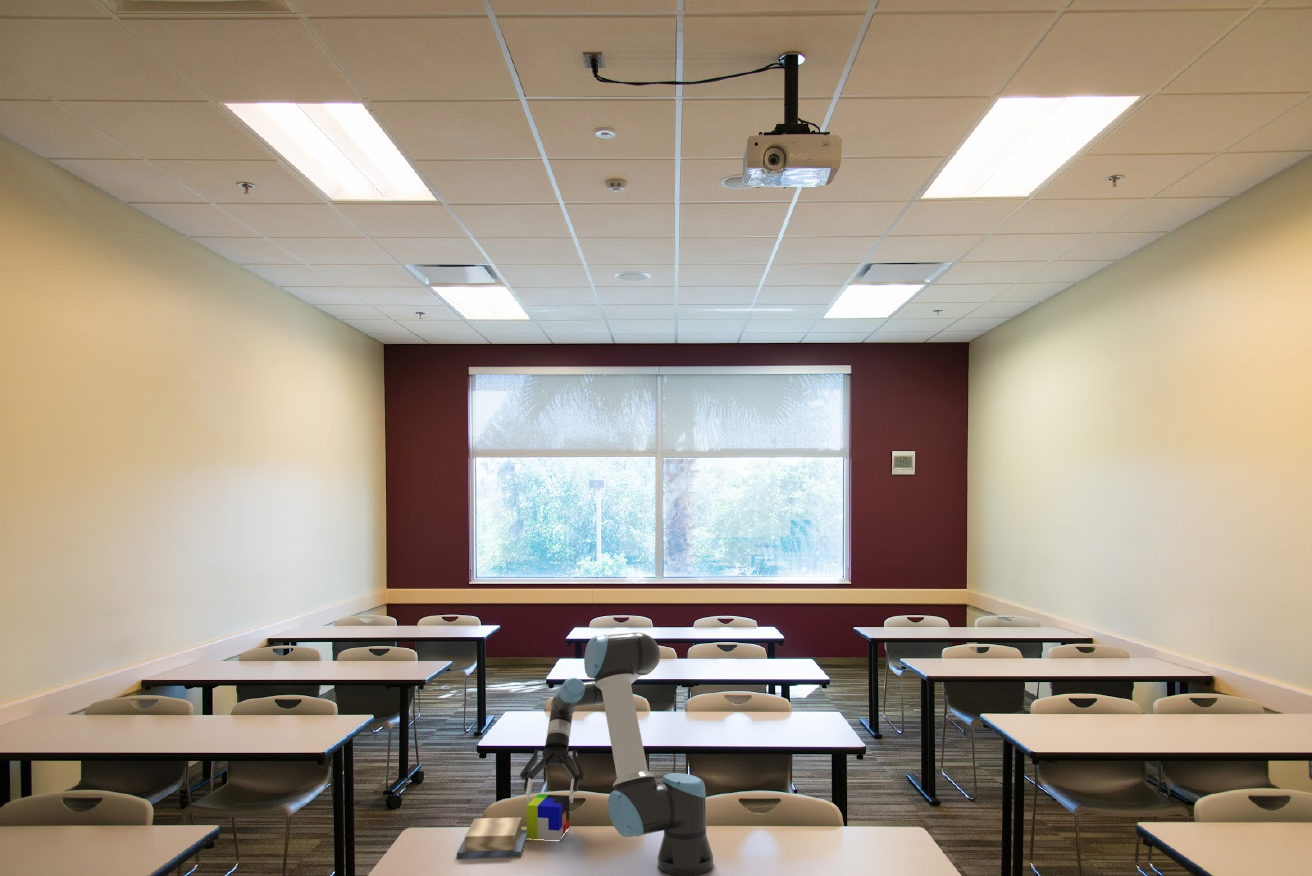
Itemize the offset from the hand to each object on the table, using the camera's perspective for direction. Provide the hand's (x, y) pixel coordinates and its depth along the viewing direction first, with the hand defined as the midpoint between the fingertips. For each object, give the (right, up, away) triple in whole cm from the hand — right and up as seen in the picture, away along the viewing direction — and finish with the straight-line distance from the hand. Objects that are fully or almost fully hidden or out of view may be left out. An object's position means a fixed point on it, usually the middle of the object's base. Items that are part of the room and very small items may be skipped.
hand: (548, 801), depth 246 cm
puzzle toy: (+1, -8, -5) cm, 10 cm away
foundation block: (-14, -7, -13) cm, 21 cm away
